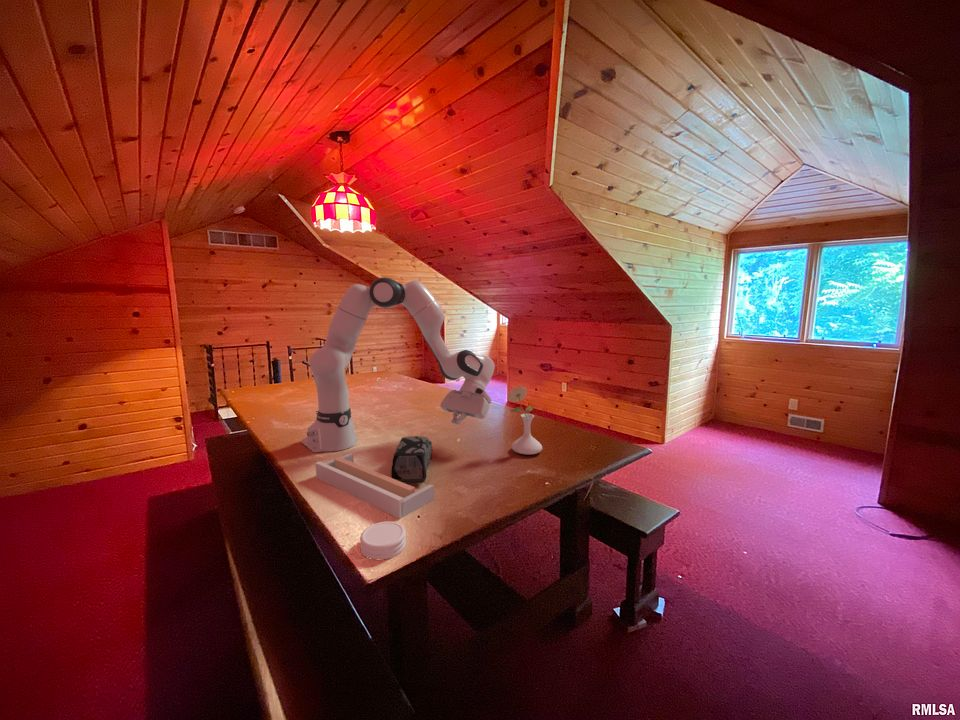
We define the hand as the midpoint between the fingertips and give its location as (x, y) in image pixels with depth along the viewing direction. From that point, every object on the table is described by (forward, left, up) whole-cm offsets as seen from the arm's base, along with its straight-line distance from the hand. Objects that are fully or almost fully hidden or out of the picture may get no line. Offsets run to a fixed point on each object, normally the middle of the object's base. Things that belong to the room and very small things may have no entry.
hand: (455, 423), depth 144 cm
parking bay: (0, -38, -10) cm, 40 cm away
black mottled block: (0, -22, -10) cm, 24 cm away
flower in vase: (+22, +14, -10) cm, 28 cm away
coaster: (+25, -54, -11) cm, 61 cm away
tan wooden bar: (0, -38, -10) cm, 40 cm away
